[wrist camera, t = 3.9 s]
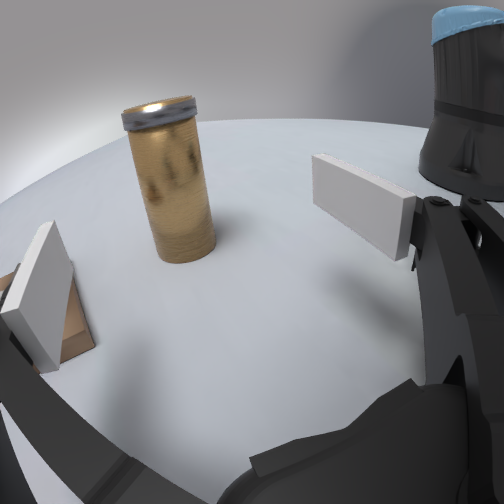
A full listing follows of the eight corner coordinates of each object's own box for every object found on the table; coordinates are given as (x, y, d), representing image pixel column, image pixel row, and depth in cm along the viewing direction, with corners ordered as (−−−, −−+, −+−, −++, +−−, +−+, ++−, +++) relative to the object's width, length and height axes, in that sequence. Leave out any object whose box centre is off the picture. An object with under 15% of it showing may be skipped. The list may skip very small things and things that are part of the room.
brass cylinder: (220, 227, 29) (199, 93, 22) (216, 261, 24) (187, 98, 18) (163, 234, 29) (134, 105, 22) (149, 267, 24) (109, 116, 18)
